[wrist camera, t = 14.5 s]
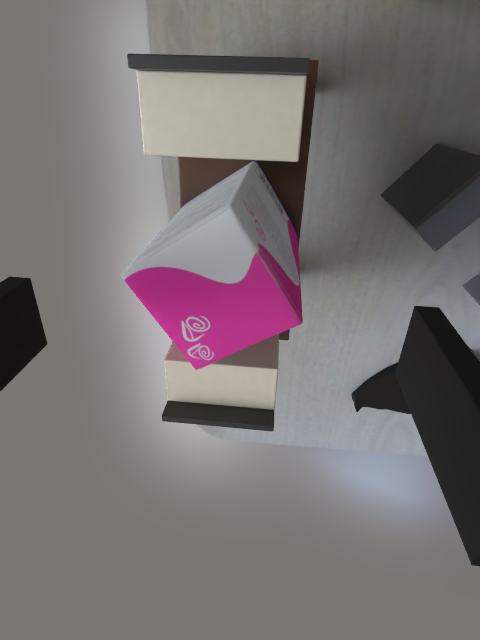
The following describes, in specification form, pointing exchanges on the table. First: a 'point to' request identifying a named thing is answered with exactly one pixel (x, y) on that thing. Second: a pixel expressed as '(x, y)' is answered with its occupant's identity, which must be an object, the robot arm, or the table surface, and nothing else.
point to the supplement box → (222, 270)
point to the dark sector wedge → (381, 392)
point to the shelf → (281, 174)
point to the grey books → (439, 198)
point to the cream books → (224, 143)
